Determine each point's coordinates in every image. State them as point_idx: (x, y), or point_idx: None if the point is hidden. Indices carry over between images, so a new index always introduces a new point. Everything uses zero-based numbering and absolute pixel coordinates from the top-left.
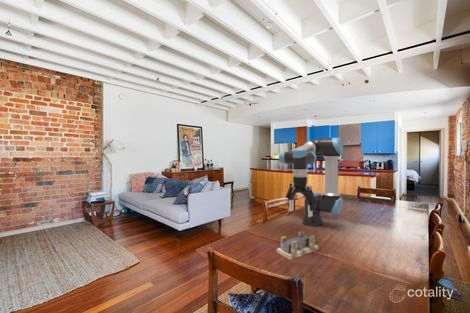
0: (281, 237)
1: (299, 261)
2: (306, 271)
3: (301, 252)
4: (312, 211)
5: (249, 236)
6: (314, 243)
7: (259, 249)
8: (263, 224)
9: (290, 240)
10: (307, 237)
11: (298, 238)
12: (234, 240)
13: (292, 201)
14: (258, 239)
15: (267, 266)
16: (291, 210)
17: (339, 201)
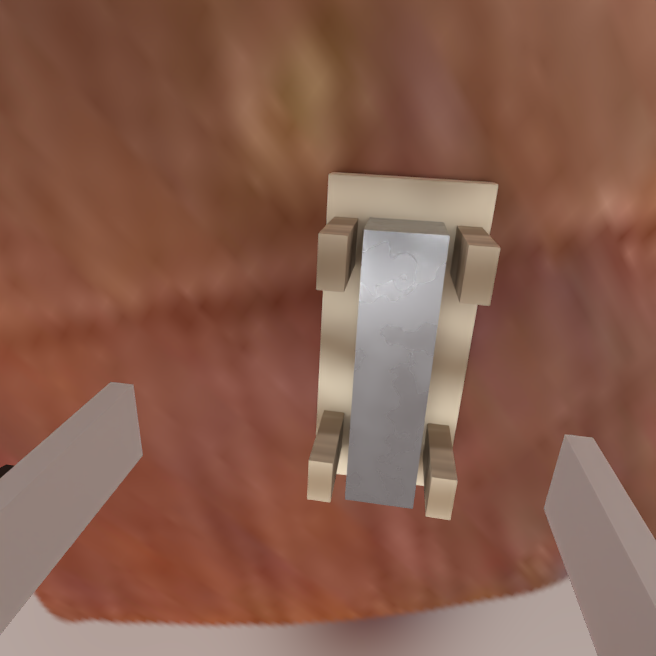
0: (314, 497)
1: (493, 442)
2: None
3: (461, 389)
4: (632, 503)
5: (13, 398)
6: (486, 232)
7: (221, 489)
8: None
9: (367, 440)
10: (425, 272)
11: (383, 357)
12: None
13: (4, 546)
14: (85, 389)
15: (402, 590)
16: (135, 439)
17: None
